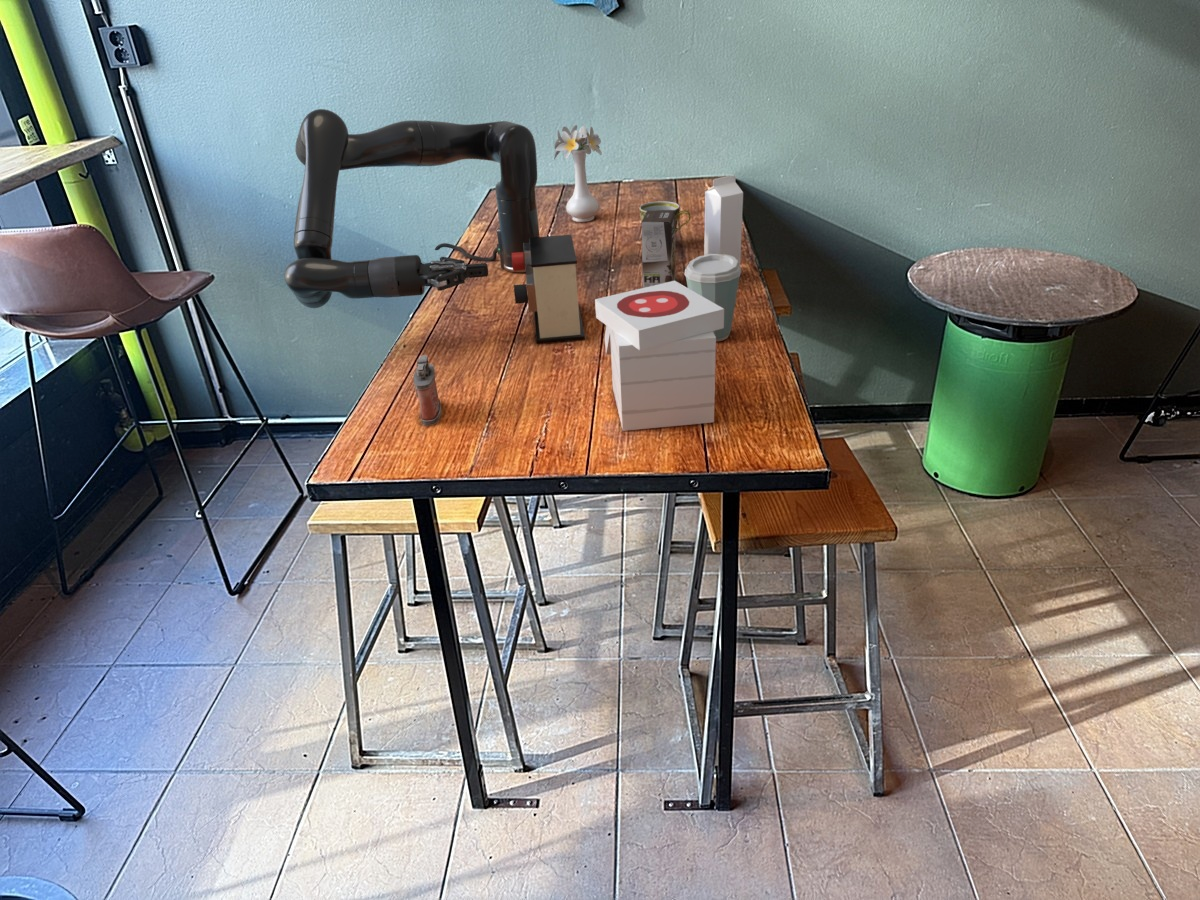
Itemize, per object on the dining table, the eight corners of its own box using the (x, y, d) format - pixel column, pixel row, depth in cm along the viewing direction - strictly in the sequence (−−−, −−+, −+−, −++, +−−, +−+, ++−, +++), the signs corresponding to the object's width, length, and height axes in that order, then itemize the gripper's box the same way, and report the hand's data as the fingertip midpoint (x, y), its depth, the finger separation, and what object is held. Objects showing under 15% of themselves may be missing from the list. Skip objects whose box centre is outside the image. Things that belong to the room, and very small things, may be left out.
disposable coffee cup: (725, 351, 155) (727, 274, 147) (674, 340, 160) (674, 266, 152) (747, 330, 163) (751, 256, 155) (698, 321, 168) (699, 249, 160)
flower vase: (602, 208, 242) (597, 117, 229) (607, 226, 226) (602, 130, 213) (557, 211, 241) (550, 121, 228) (560, 229, 226) (552, 134, 213)
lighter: (423, 403, 144) (413, 351, 138) (443, 401, 144) (433, 349, 139) (418, 426, 137) (408, 372, 132) (439, 424, 137) (429, 370, 132)
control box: (532, 344, 162) (524, 266, 154) (530, 310, 177) (522, 237, 169) (585, 339, 163) (579, 261, 154) (578, 306, 178) (573, 233, 169)
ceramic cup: (634, 250, 207) (633, 211, 202) (647, 238, 215) (647, 200, 210) (684, 254, 203) (684, 214, 198) (695, 242, 211) (696, 202, 205)
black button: (515, 306, 161) (513, 288, 159) (515, 299, 164) (513, 282, 162) (528, 305, 161) (526, 287, 159) (527, 298, 164) (525, 281, 162)
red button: (513, 273, 166) (511, 256, 164) (513, 267, 169) (511, 250, 168) (525, 272, 166) (523, 255, 165) (525, 266, 170) (523, 249, 168)
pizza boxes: (692, 349, 157) (693, 257, 147) (728, 427, 131) (732, 322, 122) (592, 358, 156) (586, 265, 146) (609, 439, 130) (603, 333, 121)
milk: (740, 276, 189) (744, 177, 177) (718, 281, 186) (722, 182, 174) (724, 268, 193) (727, 172, 181) (702, 274, 191) (705, 176, 179)
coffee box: (671, 294, 181) (670, 221, 172) (642, 294, 182) (640, 221, 174) (676, 279, 188) (676, 209, 180) (648, 279, 190) (646, 209, 181)
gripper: (403, 283, 165) (490, 276, 166) (396, 308, 153) (489, 300, 154) (397, 246, 161) (486, 240, 162) (388, 269, 149) (484, 261, 150)
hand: (487, 269), depth 158 cm, fingers closed
